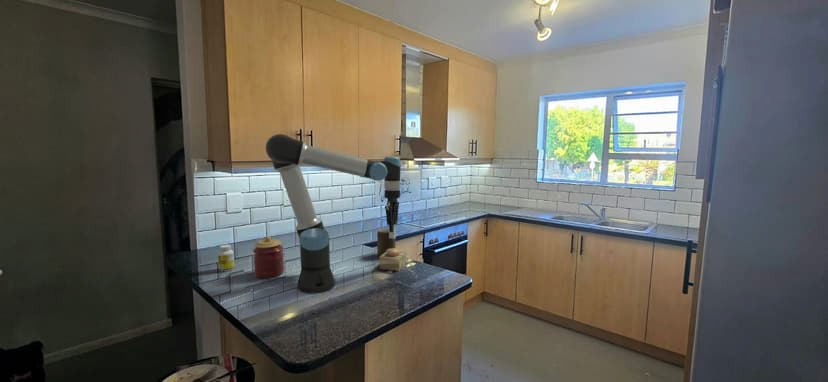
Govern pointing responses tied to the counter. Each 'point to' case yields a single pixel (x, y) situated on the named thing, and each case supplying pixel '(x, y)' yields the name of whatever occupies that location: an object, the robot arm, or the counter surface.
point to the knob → (392, 252)
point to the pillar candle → (384, 241)
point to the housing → (392, 261)
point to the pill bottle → (226, 258)
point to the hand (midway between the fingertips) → (392, 237)
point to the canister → (268, 258)
